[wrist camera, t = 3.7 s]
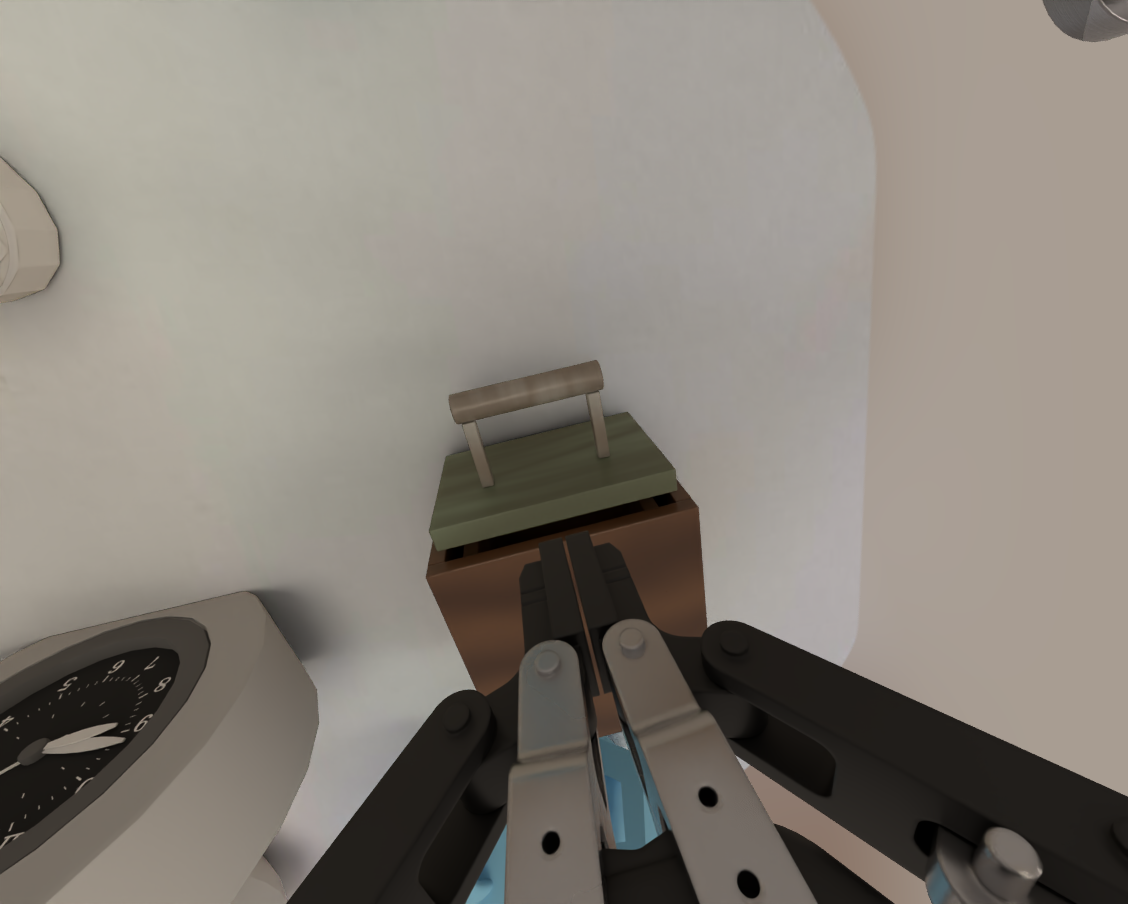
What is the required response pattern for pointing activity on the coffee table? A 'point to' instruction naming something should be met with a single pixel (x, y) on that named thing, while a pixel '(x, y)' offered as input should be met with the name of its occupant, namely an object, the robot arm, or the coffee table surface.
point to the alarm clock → (150, 756)
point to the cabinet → (492, 592)
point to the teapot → (625, 814)
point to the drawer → (544, 467)
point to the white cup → (24, 239)
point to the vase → (261, 886)
